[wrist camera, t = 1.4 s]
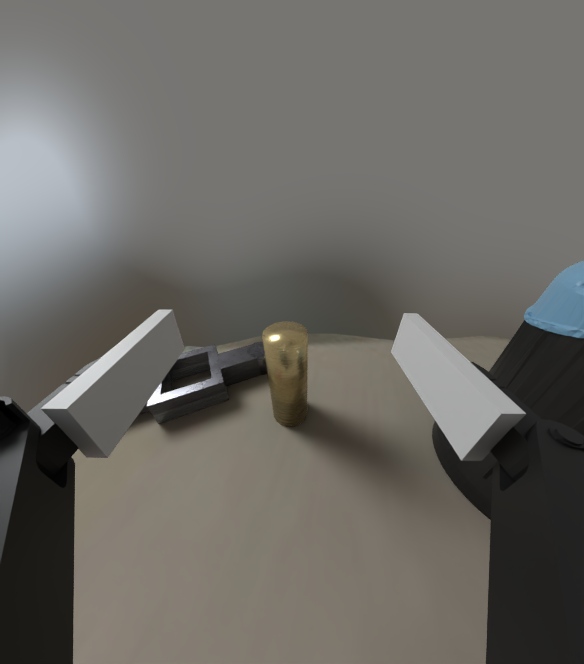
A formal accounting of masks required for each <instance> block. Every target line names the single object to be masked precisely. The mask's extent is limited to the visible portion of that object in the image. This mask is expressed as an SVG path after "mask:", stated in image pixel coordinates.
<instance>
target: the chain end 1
mask: <svg viewBox="0 0 584 664" xmlns="http://www.w3.org/2000/svg"><path fill="white" fill-rule="evenodd" d="M209 369H210V364H209V361H206V362H202V363H199V364H195V365H191V366H188V367H184V368H181V369H177V370H174V371H170V372H168V380H167V392H170V391H172V380H175V379H178V378H182V377H185V376H188V375H192V374H195V373H198V372H202V371H205V370H209ZM224 383H225V381H224ZM225 387H226V385H225ZM226 400H229V397H228V393H227V388H226V391H225V392H222V393H219V394H216V395H213V396H210V397H207V398H204V399H201V400H198V401H195V402H192V403H189V404H186V405H183V406H180V407H177V408H174V409H171V410H168V411H165V412H162V413H159V414H156V415H153V416H154V418H155V419H156V421H157V422H158V424H160V423H163V422H166V421H169V420H171V419H174V418H177V417H180V416H183V415H186V414H189V413H192V412H194V411H197V410H200V409H203V408H206V407H209V406H212V405H215V404H217V403H220V402H223V401H226ZM147 403H148V402H147ZM147 403H146V404H145V406H144V407H143V409H142V410H141V411H140V413H139V414H143V413H146V412H149V411H150V410H149V409H148V407H147ZM139 414H138V415H139Z"/></svg>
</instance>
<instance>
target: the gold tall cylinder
mask: <svg viewBox="0 0 584 664" xmlns="http://www.w3.org/2000/svg"><path fill="white" fill-rule="evenodd" d="M262 338H263V344H264V351H265V358H266V365H267V372H268V379H269V386H270V393H271V400H272V407H273V413H274V417H275V419H276V421H277V422H278V423H279V424H281V425H283V426H287V427H293V426H297V425H299V424H300V423H302V422H303V421H304V420H305V418H306V416H307V347H308V332H307V330H306V328H305V327H304V326H302V325H301V324H298V323H295V322H279V323H275V324H272V325H270V326H268V327H267V328H266V329H265V330H264V331H263V334H262Z"/></svg>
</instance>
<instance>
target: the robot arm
mask: <svg viewBox="0 0 584 664" xmlns="http://www.w3.org/2000/svg"><path fill="white" fill-rule="evenodd" d="M524 318H525V320H524V322H523V323H522V325H521V326H520V328H519V329H518V331H517V332H516V334H515V335H514V337H513V338H512V339H511V341H510V342H509V344H508V345H507V347H506V348H505V349H504V351H503V352H502V354H501V355H500V357H499V358H498V359H497V361H496V362H495V364H494V365H493V367H492V368H491V369H490V371H489V372H488V371H487V370H485V369H484V368H482V367H480V366H479V365H477V364H475V363H473V362H470V361H468V360H467V359H466V358H465V357H464V356H463V355H462V354H461V353H460V352H459V351H458V350H456V349H455V348H454V347H453V346H452V345H451V344H450V343H449V342H448V341H447V340H446V339H444V338H443V337H442V336H441V335H440V334H439V333H438V332H437V331H436V330H435V329H434V328H433V327H431V326H430V325H429V324H428V323H427V322H426V321H425V320H424V319H423V318H422V317H420V316H419V315H418V314H412V313H411V314H409V313H404V315H403V318H402V321H401V324H400V327H399V330H398V333H397V336H396V339H395V342H394V345H393V348H392V351H391V353H392V354H393V356H394V357H395V359H396V360H397V362H398V363H399V365H400V366H401V368H402V370H403V371H404V373H405V374H406V376H407V377H408V379H409V380H410V382H411V383H412V385H413V387H414V388H415V390H416V391H417V393H418V394H419V396H420V397H421V399H422V401H423V402H424V404H425V405H426V407H427V408H428V410H429V411H430V413H431V414H432V416H433V418H434V419H435V423H434V426H433V431H432V437H433V444H434V448H435V451H436V454H437V456H438V458H439V460H440V462H441V464H442V466H443V468H444V469H445V471H446V473H447V474H448V476H449V477H450V478H451V480H452V481H453V483H454V484H455V485H456V486H457V487H458V489H459V490H460V491H461V492H462V493H463V494H464V495H465V496H466V497H467V498H468V500H469V501H470V502H471V503H473V504H474V505H475V506H476V507H477V508H478V509H479V510H480V511H481V512H482V513H484V514H485V515H486V516H487V517H489V518H490V519H491V533H490V562H489V591H488V620H487V649H486V664H584V261H581V262H579V263H576V264H574V265H572V266H570V267H568V268H567V269H565V270H564V271H562V272H561V273H560V274H559V275H558V276H557V277H556V278H555V279H554V280H553V281H552V282H551V284H550V285H549V286H548V288H547V289H546V290H545V292H544V293H543V294H542V295H541V297H540V298H539V300H538V301H537V302H536V303H535V304H534V305H533V306H531V307H529V308H528V309H527V311H526V312H525V314H524ZM184 349H185V348H184V345H183V342H182V339H181V335H180V332H179V329H178V326H177V323H176V320H175V317H174V313H173V310H158V311H157V312H155V313H154V314H153V315H152V316H151V317H149V318H148V319H147V320H146V321H145V322H143V323H142V324H141V325H140V326H139V327H137V328H136V329H135V330H134V331H133V332H131V333H130V334H129V335H128V336H127V337H126V338H124V339H123V340H122V341H121V342H119V343H118V344H117V345H116V346H115V347H113V348H112V349H111V350H110V351H109V352H108V353H106V354H105V355H104V356H103V357H102V358H99V359H97V360H95V361H93V362H91V363H90V364H88V365H86V366H85V367H84V368H82V369H81V370H80V371H79V372H77V373H76V374H75V376H73V377H71V378H70V379H69V380H68V381H66V384H63V385H62V386H60V387H59V388H58V389H56V390H55V391H54V392H53V393H51V394H50V395H49V396H48V397H47V398H45V399H44V400H43V401H42V402H40V403H39V404H38V405H37V406H35V407H34V408H33V409H32V410H31V411H29V412H28V413H27V414H26V413H25V412H24V411H23V410H22V409H21V408H20V407H19V406H18V405H17V404H16V403H15V402H14V401H13V400H12V399H11V398H8V397H0V664H73V598H74V504H75V463H74V460H73V459H72V458H71V456H72V455H73V454H74V453H75V452H76V451H77V449H79V450H80V451H81V452H82V453H83V454H84V455H85V456H86V457H94V458H108V457H109V455H110V454H111V452H112V451H113V449H114V448H115V447H116V445H117V444H118V442H119V441H120V440H121V438H122V437H123V435H124V434H125V433H126V431H127V430H128V428H129V427H130V426H131V424H132V423H133V421H134V420H135V418H136V417H137V416H138V414H139V413H140V411H141V410H142V409H143V407H144V406H145V404H146V403H147V402H148V400H149V399H150V397H151V396H152V395H153V393H154V392H155V390H156V389H157V388H158V386H159V385H160V383H161V382H162V380H163V379H164V378H165V376H166V375H167V373H168V372H169V371H170V369H171V368H172V366H173V365H174V364H175V362H176V361H177V359H178V358H179V357H180V355H181V354H182V352H183V351H184Z"/></svg>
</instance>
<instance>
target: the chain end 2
mask: <svg viewBox="0 0 584 664" xmlns="http://www.w3.org/2000/svg"><path fill="white" fill-rule="evenodd" d="M206 361H209V364H210V370H211V377H212V378H211V379H208V380H205V381H202V382H199V383H195V384H192V385H189V386H186V387H182V388H179V389H176V390H173V391H170V392H167V380H168V373H167V375H166V376H165V378H164V379H163V380H162V382H161V383H160V385H159V386H158V388H157V389H156V390H155V392H154V393H153V395H152V396H151V397H150V399H149V400H148V403H147V407H148V409H149V410H150V412H151V413H152V415H156V414H159V413H162V412H165V411H168V410H171V409H174V408H177V407H180V406H183V405H186V404H189V403H192V402H195V401H198V400H201V399H204V398H207V397H210V396H213V395H216V394H219V393H222V392H225V391H226V387H225V385H226V386H228V385H231V384H234V383H237V382H240V381H243V380H246V379H249V378H252V377H255V376H258V375H264V374H267V373H268V372H267V365H266V358H265V351H264V344H263V342H257V343H254V344H252V345H248V346H245V347H241V348H238V349H234V350H230V351H227V352H223V353H220V354H218V352H217V348H216V345H212V346H208V347H204V348H200V349H197V350H193V351H189V352H185V353H182V354H181V355H180V357H179V358H178V359H177V361H176V362H175V364H174V365H173V366H172V368H171V369H170V371H174V370H177V369H181V368H184V367H188V366H191V365H195V364H199V363H202V362H206ZM170 371H169V372H170ZM224 381H225V383H224Z"/></svg>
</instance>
